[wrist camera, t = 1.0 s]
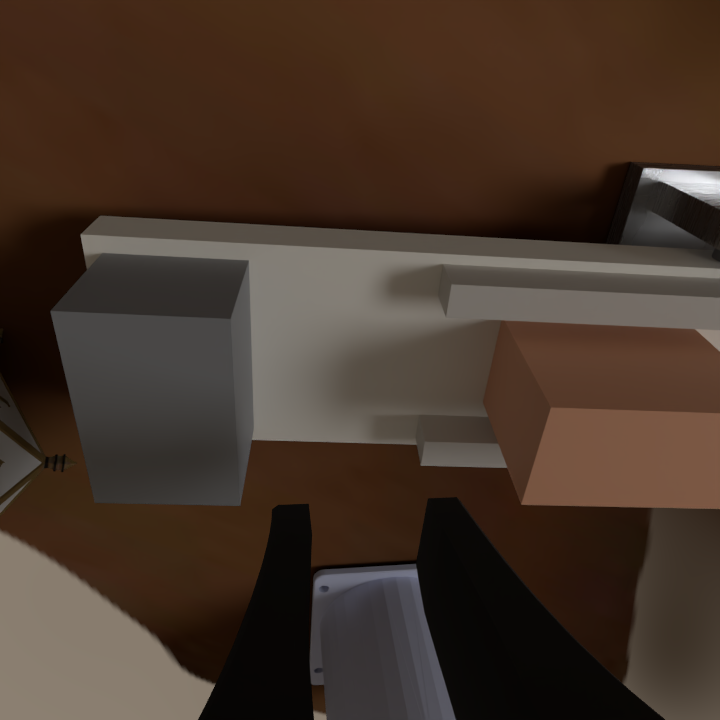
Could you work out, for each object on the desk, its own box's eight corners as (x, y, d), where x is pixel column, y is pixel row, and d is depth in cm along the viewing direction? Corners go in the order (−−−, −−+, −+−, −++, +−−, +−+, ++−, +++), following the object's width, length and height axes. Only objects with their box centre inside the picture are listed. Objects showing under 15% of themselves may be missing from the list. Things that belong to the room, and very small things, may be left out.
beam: (133, 413, 21) (81, 522, 17) (98, 205, 17) (18, 276, 13) (974, 440, 23) (1120, 541, 19) (1117, 264, 19) (1344, 340, 15)
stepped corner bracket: (153, 432, 23) (126, 536, 18) (110, 137, 17) (55, 187, 13) (839, 415, 27) (947, 495, 23) (990, 178, 22) (1173, 226, 17)
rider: (482, 402, 19) (521, 504, 15) (502, 316, 18) (550, 407, 14) (655, 407, 20) (735, 509, 16) (690, 325, 18) (790, 415, 14)
